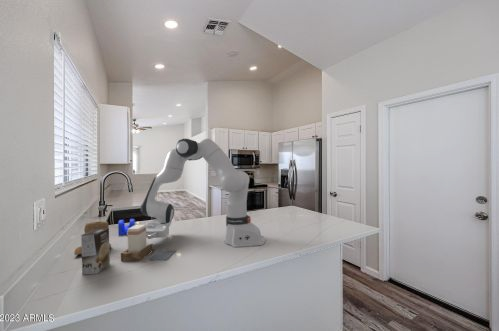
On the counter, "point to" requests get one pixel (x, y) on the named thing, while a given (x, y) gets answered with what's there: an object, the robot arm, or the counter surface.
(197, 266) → the counter surface
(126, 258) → the holder
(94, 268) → the coffee box
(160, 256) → the mat
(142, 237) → the striped white pillar
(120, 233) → the bracket
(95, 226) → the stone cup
